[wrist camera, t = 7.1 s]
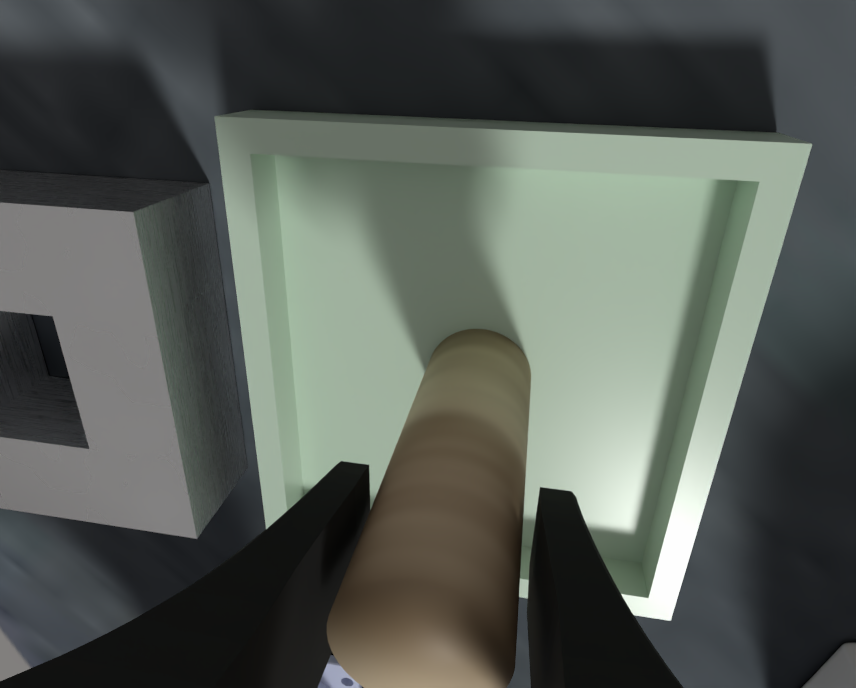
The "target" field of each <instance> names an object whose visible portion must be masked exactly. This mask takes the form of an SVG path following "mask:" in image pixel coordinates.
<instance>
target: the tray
mask: <svg viewBox="0 0 856 688" xmlns="http://www.w3.org/2000/svg"><path fill="white" fill-rule="evenodd" d="M214 117H215V125H216V133H217V141H218V149H219V157H220V165H221V173H222V181H223V189H224V197H225V205H226V213H227V221H228V229H229V237H230V245H231V253H232V261H233V268H234V276H235V284H236V292H237V300H238V308H239V316H240V324H241V332H242V340H243V348H244V356H245V364H246V372H247V380H248V388H249V396H250V404H251V412H252V420H253V428H254V436H255V444H256V452H257V460H258V468H259V476H260V484H261V492H262V500H263V508H264V516H265V523H266V529H267V528H268V527H269V526H271V525H272V524H273V523H274V522H275V521H276V520H277V519H279V518H280V517H281V516H282V515H283V514H284V513H285V512H286V511H288V510H289V509H290V508H291V507H292V506H293V505H294V504H295V503H297V502H298V501H299V500H300V499H301V498H302V497H303V496H304V495H305V494H306V493H307V492H308V491H309V490H310V489H312V488H313V487H314V486H315V485H316V484H317V483H318V482H319V481H320V480H321V479H322V478H323V477H324V476H325V475H326V474H327V473H328V472H329V471H330V470H331V469H332V468H333V467H334V466H335V465H337V464H338V463H339V462H341V461H344V462H352V463H359V464H367V465H369V473H370V510H371V508H372V505H373V502H374V500H375V497H376V495H377V492H378V490H379V487H380V485H381V482H382V480H383V477H384V475H385V472H386V470H387V467H388V465H389V462H390V459H391V457H392V454H393V452H394V449H395V447H396V444H397V442H398V439H399V437H400V434H401V432H402V429H403V427H404V424H405V422H406V419H407V416H408V414H409V411H410V409H411V406H412V404H413V401H414V399H415V396H416V394H417V391H418V389H419V386H420V384H421V381H422V379H423V376H424V373H425V371H426V368H427V366H428V363H429V361H430V358H431V356H432V354H433V352H434V350H435V349H436V347H437V346H438V345H439V344H440V343H441V342H442V341H443V340H444V339H446V338H447V337H449V336H450V335H452V334H454V333H456V332H459V331H463V330H467V329H486V330H491V331H494V332H497V333H500V334H502V335H504V336H506V337H507V338H509V339H510V340H512V341H513V342H514V343H515V344H516V345H518V346H519V348H520V349H521V350H522V351H523V353H524V354H525V356H526V358H527V360H528V362H529V365H530V369H531V391H530V408H529V426H528V444H527V462H526V479H525V497H524V515H523V533H522V550H521V568H520V586H519V597H523V598H528V583H529V563H530V556H531V549H532V541H533V534H534V527H535V519H536V512H537V505H538V498H539V490H540V487H543V488H551V489H559V490H566V491H572V493H573V494H574V495H575V496H576V498H577V501H578V504H579V507H580V510H581V513H582V515H583V518H584V520H585V523H586V525H587V527H588V530H589V532H590V534H591V536H592V539H593V541H594V543H595V545H596V547H597V549H598V551H599V553H600V555H601V557H602V559H603V561H604V563H605V565H606V567H607V569H608V571H609V573H610V575H611V577H612V579H613V580H614V582H615V584H616V586H617V588H618V589H619V591H620V593H621V595H622V597H623V598H624V600H625V602H626V603H627V605H628V607H629V608H630V610H631V612H632V613H633V615H637V616H643V617H650V618H656V619H662V620H669V621H671V618H672V614H673V611H674V608H675V604H676V601H677V598H678V594H679V591H680V587H681V584H682V581H683V577H684V574H685V571H686V567H687V564H688V561H689V557H690V554H691V550H692V547H693V544H694V540H695V537H696V534H697V530H698V527H699V524H700V520H701V517H702V513H703V510H704V507H705V503H706V500H707V497H708V493H709V490H710V487H711V483H712V480H713V476H714V473H715V470H716V466H717V463H718V460H719V456H720V453H721V450H722V446H723V443H724V439H725V436H726V433H727V429H728V426H729V423H730V419H731V416H732V413H733V409H734V406H735V402H736V399H737V396H738V392H739V389H740V386H741V382H742V379H743V376H744V372H745V369H746V365H747V362H748V359H749V355H750V352H751V349H752V345H753V342H754V339H755V335H756V332H757V328H758V325H759V322H760V318H761V315H762V312H763V308H764V305H765V302H766V298H767V295H768V291H769V288H770V285H771V281H772V278H773V275H774V271H775V268H776V265H777V261H778V258H779V254H780V251H781V248H782V244H783V241H784V238H785V234H786V231H787V228H788V224H789V221H790V217H791V214H792V211H793V207H794V204H795V201H796V197H797V194H798V191H799V187H800V184H801V180H802V177H803V174H804V170H805V167H806V164H807V160H808V157H809V154H810V150H811V147H812V144H811V143H808V142H805V141H802V140H799V139H796V138H793V137H790V136H787V135H784V134H780V133H775V132H752V131H730V130H707V129H684V128H661V127H638V126H615V125H592V124H569V123H546V122H524V121H501V120H478V119H455V118H432V117H409V116H386V115H363V114H340V113H317V112H295V111H272V110H247V111H241V112H236V113H230V114H225V115H220V116H214Z"/></svg>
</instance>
